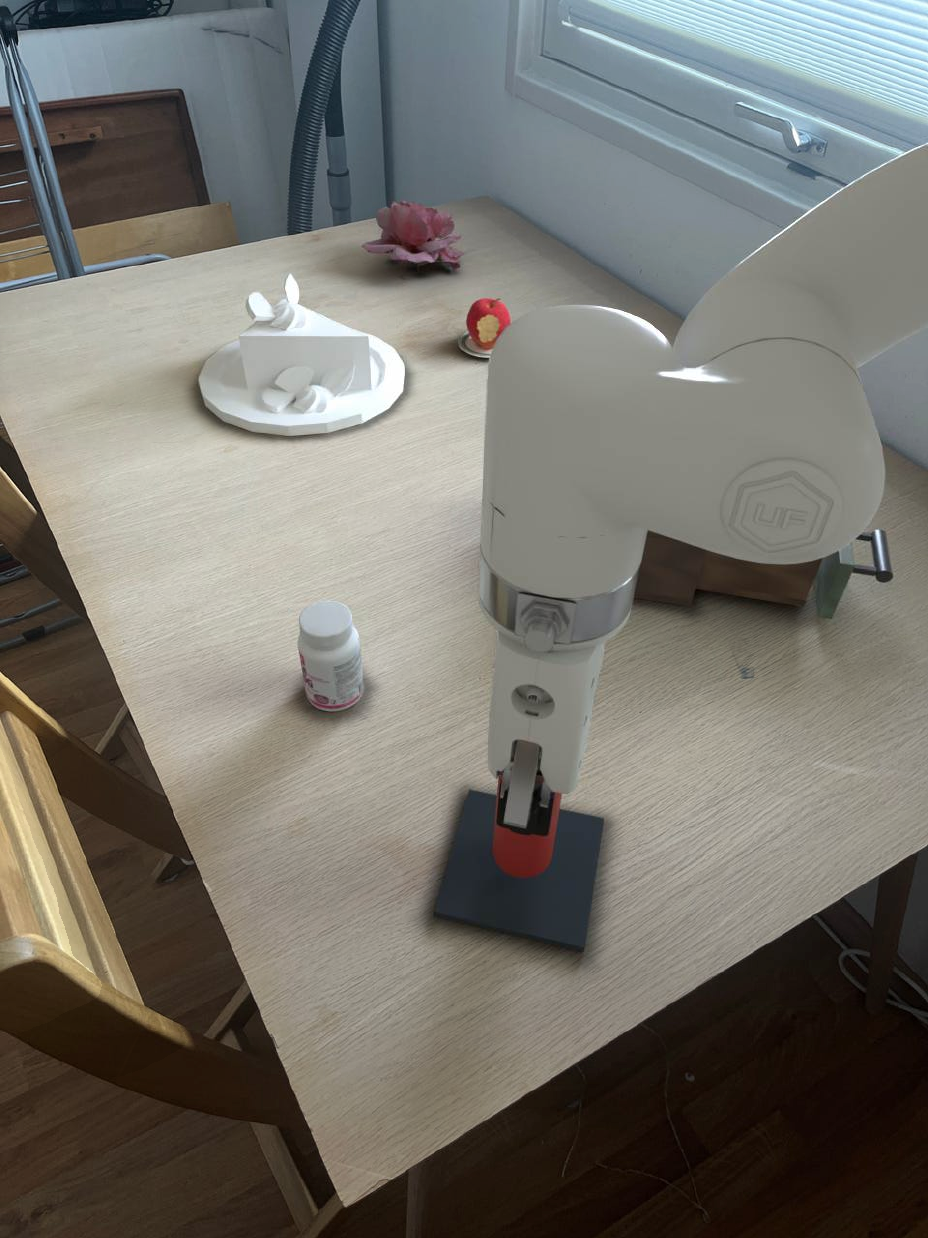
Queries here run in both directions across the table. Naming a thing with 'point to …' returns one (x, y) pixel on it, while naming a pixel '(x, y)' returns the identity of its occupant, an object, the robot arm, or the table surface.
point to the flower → (415, 235)
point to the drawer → (795, 575)
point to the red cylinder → (524, 845)
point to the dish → (299, 372)
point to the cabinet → (668, 570)
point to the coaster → (522, 879)
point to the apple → (484, 327)
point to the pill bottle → (330, 656)
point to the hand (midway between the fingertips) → (530, 794)
